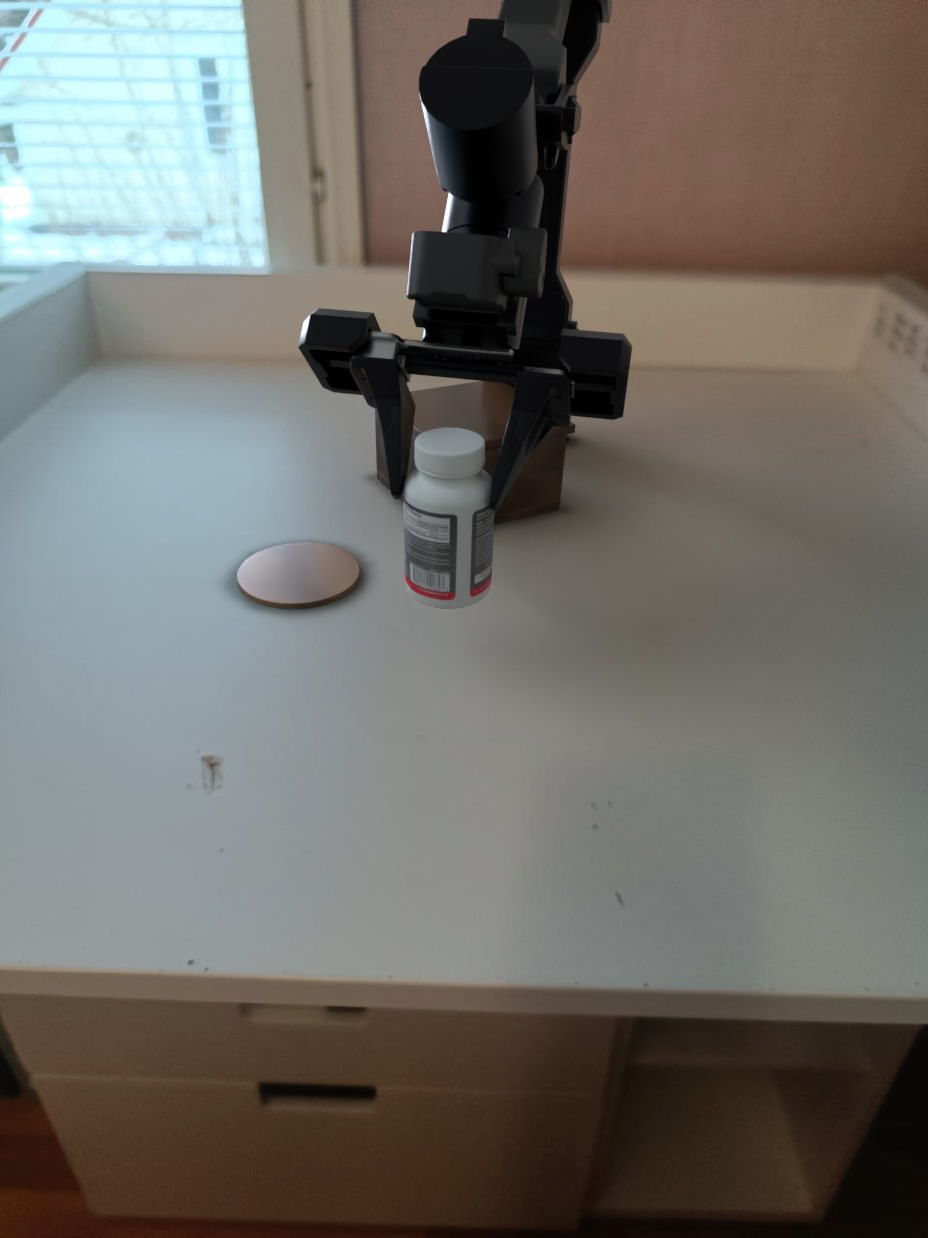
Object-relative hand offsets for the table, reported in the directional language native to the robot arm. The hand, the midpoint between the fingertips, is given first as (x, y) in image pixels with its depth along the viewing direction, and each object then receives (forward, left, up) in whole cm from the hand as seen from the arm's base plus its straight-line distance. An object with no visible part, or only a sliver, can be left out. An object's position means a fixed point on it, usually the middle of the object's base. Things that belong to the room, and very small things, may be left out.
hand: (443, 502), depth 50 cm
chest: (-14, -22, -12) cm, 28 cm away
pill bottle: (-1, -1, -7) cm, 7 cm away
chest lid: (-14, -22, -5) cm, 27 cm away
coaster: (+4, -15, -12) cm, 19 cm away
